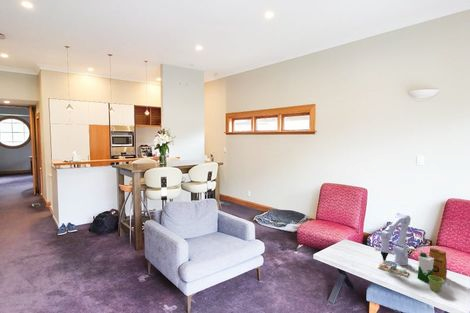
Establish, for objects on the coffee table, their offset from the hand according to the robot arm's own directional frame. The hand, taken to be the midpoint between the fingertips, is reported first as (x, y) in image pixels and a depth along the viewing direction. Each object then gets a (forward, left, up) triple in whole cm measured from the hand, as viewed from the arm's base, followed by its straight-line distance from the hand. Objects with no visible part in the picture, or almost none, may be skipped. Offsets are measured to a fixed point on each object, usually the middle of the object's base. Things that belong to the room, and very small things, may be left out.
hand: (384, 260), depth 231 cm
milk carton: (-24, +16, -7) cm, 29 cm away
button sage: (-11, +8, -6) cm, 15 cm away
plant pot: (-22, +31, -7) cm, 39 cm away
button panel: (-6, +4, -7) cm, 10 cm away
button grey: (-6, +4, -5) cm, 9 cm away
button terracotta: (0, 0, -6) cm, 6 cm away
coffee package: (-37, +10, -7) cm, 39 cm away
